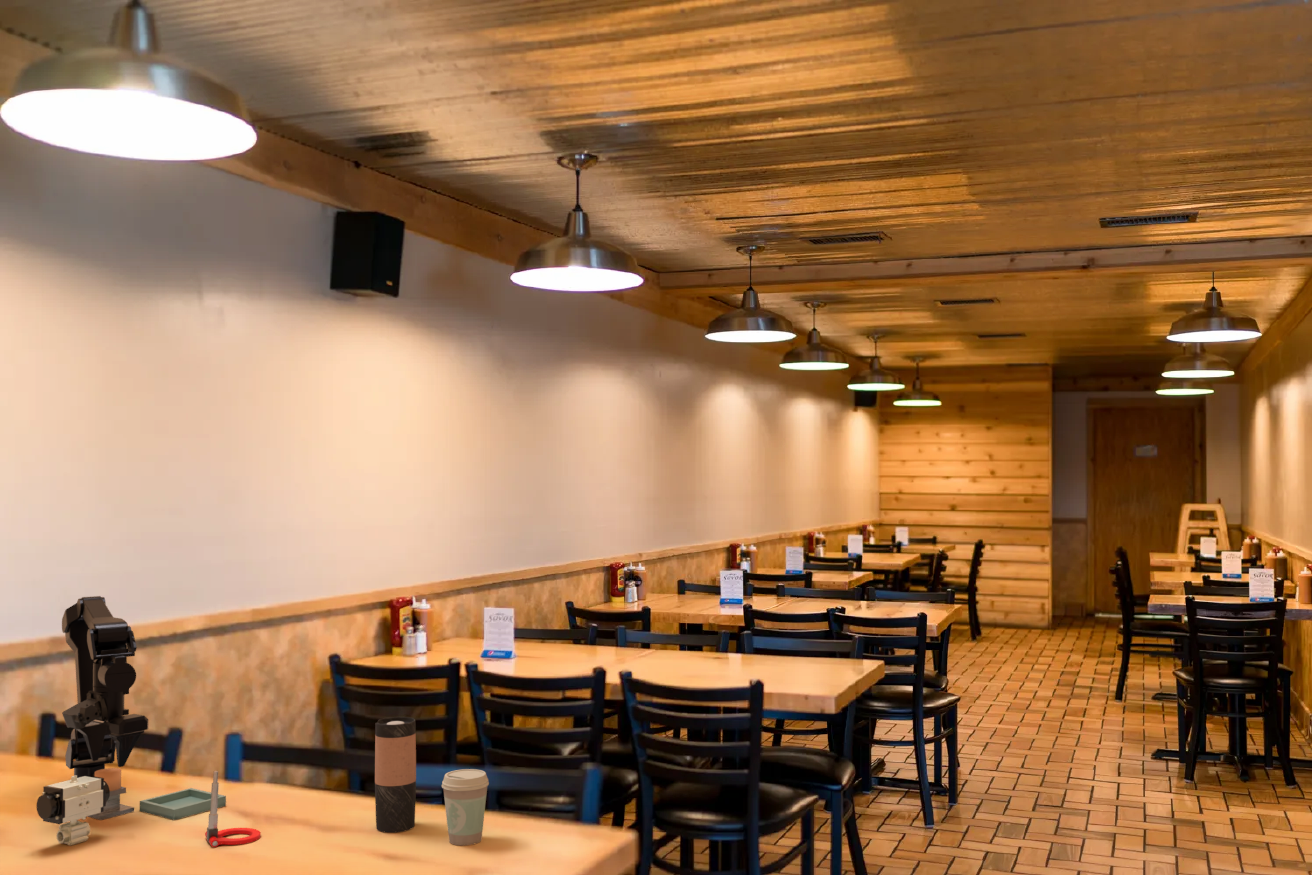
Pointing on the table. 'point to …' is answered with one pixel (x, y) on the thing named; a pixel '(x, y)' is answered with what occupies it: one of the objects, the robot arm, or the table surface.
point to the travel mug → (395, 774)
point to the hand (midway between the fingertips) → (107, 763)
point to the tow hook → (215, 835)
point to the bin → (180, 804)
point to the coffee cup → (465, 805)
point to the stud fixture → (113, 809)
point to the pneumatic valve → (73, 806)
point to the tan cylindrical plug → (112, 780)
